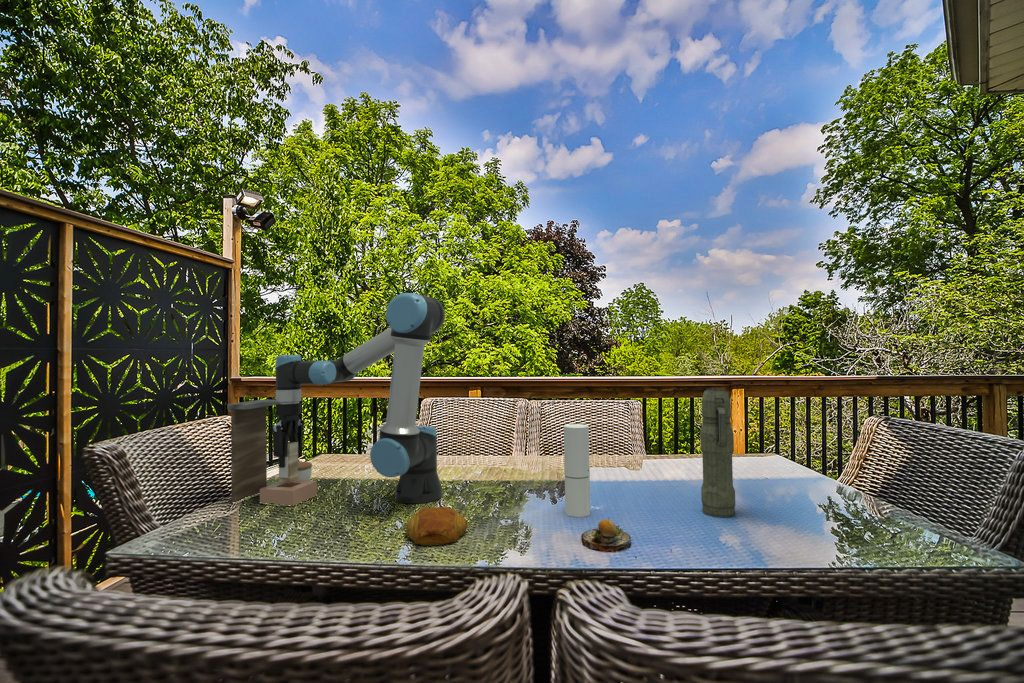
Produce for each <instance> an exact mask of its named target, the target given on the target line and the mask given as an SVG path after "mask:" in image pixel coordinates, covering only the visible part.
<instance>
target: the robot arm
mask: <svg viewBox="0 0 1024 683" xmlns="http://www.w3.org/2000/svg"><path fill="white" fill-rule="evenodd" d="M385 318H386V322H387V324H388V325H389V328H387V329H385V330H384V331H382V332H380V333H379V334H377V335H376V336H374V337H372V338H370V339H368V340H367V341H365V342H364V343H362V344H360V345H358V346H357V347H355V348H354V349H352V350H350V351H348V352H347V353H345V354H343V355H342V356H340V357H339V358H337V359H332V360H331V359H330V360H302V357H301V355H300V354H279V355H277V356H276V358H275V368H274V370H275V400H276V402H278V404H276V405H275V415H276V416H278V419H277V423H276V424H272V425H271V431H272V432H271V433H272V448H273V449H272V453H273V457H275V458H278V478H279V477H281V478H288V457H286V454H287V446H288V442H298V454H302V451H303V448H304V428H305V427H304V426H305V423H306V422H305V420H304V419H300V418H299V415H301V414H302V403H301V401H302V385H314V386H315V385H316V386H322V385H324V386H325V385H330V384H334V383H345V382H348V381H349V382H350V381H352V380H353V379H355V377H356V375H357V374H358V373H360V372H362V371H363V370H365V369H367V368H369V367H371V366H373V365H374V364H375V363H377V362H379V361H380V360H382V359H385V358H386V357H387V356H389V355H391V354H393V358H392V359H393V360H392V368H391V376H390V378H391V379H390V386H389V395H388V404H387V413H386V422H385V423H384V424H383V425H381V427H380V429H379V436H378V440H376V442H374V444H373V445H372V447H371V449H370V452H369V454H370V455H369V457H370V463H371V465H372V467H373V468H374V469H375V470H376V472H377V473H379V474H380V475H381V476H384V477H386V478H395V477H398V478H399V479H398V480H397V481H398V482H397V485H396V488H395V492H394V495H395V496H394V497H395V498H394V499H395V500H396V501H397V502H399V503H402V504H403V503H404V504H425V503H430V502H434V501H437V500H440V499H441V498H442V497H443V494H444V493H443V491H444V490H443V486H442V483H441V480H440V477H439V475H438V459H437V458H438V457H437V456H438V454H437V453H438V450H437V448H438V447H437V446H438V444H437V443H438V442H437V439H438V436H437V430H436V427H434V426H429V425H416V420H417V414H418V413H417V412H418V404H419V395H420V387H421V386H420V385H421V378H422V369H423V368H422V367H423V360H424V351H425V346H426V345H427V344H429V342H431V336H432V334H435V333H436V332H437V331H439V330H440V329H441V328H442V326H443V324H444V322H445V318H446V313H445V309H444V306H443V305H442V303H441V302H440V301H439V300H438V299H436V298H433V297H431V296H426V295H423V294H419V293H415V292H413V293H412V292H405V293H404V292H403V293H400V294H397V295H396V296H395V297H394V298H392V299H391V301H390V302H389V304H388V305H387V307H386V310H385Z"/></svg>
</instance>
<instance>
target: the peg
mask: <svg viewBox="0 0 1024 683" xmlns="http://www.w3.org/2000/svg"><path fill="white" fill-rule="evenodd" d="M286 457H288V478H281V477H279V476H278V482H292V481H295V480H297V479H298V462H299V453H298V442H289V441H288V446H287V454H286Z"/></svg>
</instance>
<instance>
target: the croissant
mask: <svg viewBox="0 0 1024 683" xmlns="http://www.w3.org/2000/svg"><path fill="white" fill-rule="evenodd" d="M468 523H469V522H468V520H467V519H466V518H465V517H464V515H462V514H461V513H459V512H458V511H457V510H456V509H453V508H450V507H447V506H435V507H423V508H420V509H419V510H418V511H417V513H415V514H414V515H413V516H411V517H410V518H409V519H407V521H406V526H405V531H406V532H405V533H406V536H407V538H408V539H411V540H412V541H413V542H414V544H415V545H423V546H442V545H446V544H449V543H457V542H458V541H459V539H460V538H462V536H463V535H465V532H466V530H467V529H468V525H469V524H468Z"/></svg>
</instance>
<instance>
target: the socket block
mask: <svg viewBox="0 0 1024 683" xmlns="http://www.w3.org/2000/svg"><path fill="white" fill-rule="evenodd" d="M316 495H317V496H318V480H309V481H308V480H295V481H292V482H279V481H277V482H275V483H272V484H269V485H267V486H266V487H264V488H261V489H260V495H259V503H260V502H262V503H274V504H284V505H293V506H294V505H295V504H298V503H300V502H302V501H304V500H306V499H308V498H311V497H313V496H316ZM317 496H316V497H317Z"/></svg>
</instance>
